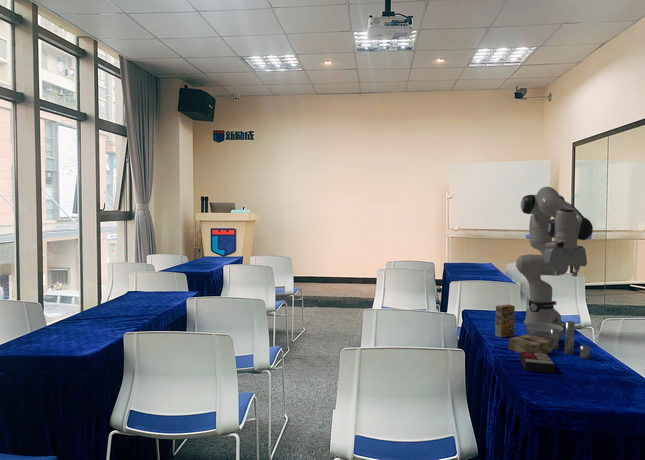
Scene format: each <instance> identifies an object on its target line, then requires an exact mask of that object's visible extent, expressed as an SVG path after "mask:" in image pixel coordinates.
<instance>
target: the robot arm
mask: <svg viewBox="0 0 645 460" xmlns="http://www.w3.org/2000/svg"><path fill="white" fill-rule="evenodd" d="M520 208H521V212H522V213H524V214H526V215H530V218H529V224H528V225H529V228H528V229H529V232H528V233H529V244H530V246H531V247H532V248H533V249H535V250H537V251H539V253H541V254H531V253H530V254H529V253H528V254H522V255H520V256H519V257H518V258H517V259H516V262H515V267H516V269H517V270H518V272H519V273H520V274H521V275H523V276H524V278H525V279H526V281H527V283H528V287H529V290H528V291H529V299H528V302H527V304H528V305H527V306H528V307H527V308H526V311H525V312H526V313H525V319H524V320H523V323H524V325H525V326H526V324H528V323H532V322H543V323H551V324H556V325H559V326H562V327H563V328H565V322H562V316H561V314H560V313H559V311H558V310H556V309H555V308H554V307H555V306H556V305H557V304H558V303H557V301H555V300H553V287H552V285H551V284H550V283H548V282H546V281H545V280H542V278H541V276H562V275H565V274H566V273H568V270H569V267H571V266H572V267H573V270H572V272H571V276H572V277H578V272H579V271H580V267H587V265H588V258H587V252H586V248H585V247H584V246H583V245H578V240H580V241H585V240H587V239H589V238H590V237H591V236H592V234H593V232H594V231H593V230H594V228H593V223H592V222H591V221H590V220H589V219H588V218H587V217H585V216H584V215H583V214H582V213H581V212H580V210H578V209H577V208H576V206H575V205H574V204H571V203H569V202H568V201H566V200H565V198H564V196H562V195H560V194H559V193H558V191H557V190H556V189H555V188H553V187H551V186H544V187H542V188H540V189H539V190H538V192H537V194H528V195H524V196H523V197H522V199H521V201H520ZM551 218H552V219H551ZM553 239H554V240H553Z"/></svg>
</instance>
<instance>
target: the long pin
mask: <svg viewBox="0 0 645 460" xmlns="http://www.w3.org/2000/svg"><path fill="white" fill-rule="evenodd" d="M564 323H565V326H564V346H563V347H564V348H563V349H564V350H563V353H564V354H566V355H574V346H575V344H574V343H575V325H576V324H575V322H574V321H570V320H569V321H567V320H566V321H565V322H564Z"/></svg>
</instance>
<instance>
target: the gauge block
mask: <svg viewBox="0 0 645 460" xmlns="http://www.w3.org/2000/svg"><path fill="white" fill-rule="evenodd" d="M507 349H508V350H509V351H513V352H516V353H521V352H531V353H533V354H534V353H543V354H549V353H552V351H553V350H552V341H551V340H547V339H543V338H540V337H536V336H533V335H529V334H527V333H526V334H524V335H518V336H512V337H510V338H508V348H507Z"/></svg>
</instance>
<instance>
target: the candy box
mask: <svg viewBox="0 0 645 460" xmlns="http://www.w3.org/2000/svg"><path fill="white" fill-rule="evenodd" d="M515 313H516V306H515V305H513V304H502V305H496V306H495V323H494V324H495V327H494V329H495V332H494V333H495V334H494V335H495V336H496V337H499V338H503V337H504V338H507V337H515V317H516V316H515Z"/></svg>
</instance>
